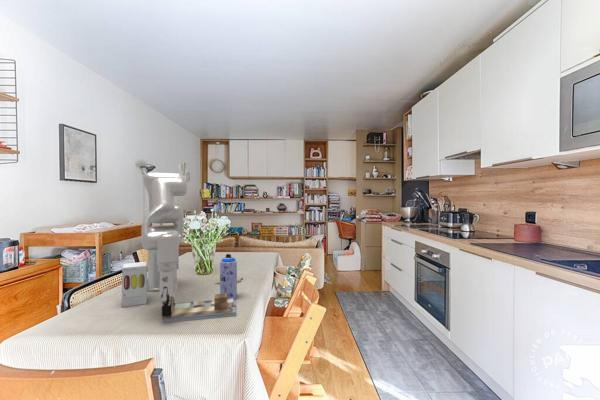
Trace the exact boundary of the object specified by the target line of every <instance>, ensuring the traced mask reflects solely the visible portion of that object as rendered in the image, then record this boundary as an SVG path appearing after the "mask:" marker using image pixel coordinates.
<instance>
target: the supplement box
mask: <svg viewBox="0 0 600 400" xmlns="http://www.w3.org/2000/svg"><path fill="white" fill-rule="evenodd" d="M121 272H122V274H121V275H122V278H121V279H122V280H121V308H127V307H133V306H139V305H140V306H141V305H147V301H148V291H147V279H148V261H142V262H141V261H140V262H139V261H138V262H128V263H127V262H125V263H123V265H122V270H121Z"/></svg>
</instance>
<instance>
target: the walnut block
mask: <svg viewBox="0 0 600 400" xmlns="http://www.w3.org/2000/svg"><path fill="white" fill-rule="evenodd" d="M213 300H214V310H226V309H227V293H224V294H220V293H215V294H214V297H213Z"/></svg>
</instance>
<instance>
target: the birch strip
mask: <svg viewBox="0 0 600 400" xmlns="http://www.w3.org/2000/svg"><path fill="white" fill-rule="evenodd" d="M167 297H169V295H167ZM167 300H168V301H169V298H168V299H167ZM174 303H175V296H174V297H171V304H170V305H171V316H162V319H164V318H170V317H179V316H190V315H201V314H213V313H224V312H231V303H229V305H227V309H226V310H214V306H210V307H198V308H186V309H174Z"/></svg>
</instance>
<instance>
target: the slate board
mask: <svg viewBox="0 0 600 400" xmlns="http://www.w3.org/2000/svg"><path fill="white" fill-rule="evenodd" d="M212 300H213V299H210V300H203V301H204V307H210V306H211V301H212ZM197 301H198V300H196V301H183V302H181V303H191V305H190V308H194V302H197ZM179 303H180V302H174V306H175V304H179ZM236 307H237V306H236V299H235V298H233V305H231V312H224V313H213V314H201V315H190V316H179V317H170V318H163V323H164V324H165V323H172V322H173V323H174V322H176V323H177V322H185V321H187V322H188V321H195V320H207V319H217V318H218V319H221V318H230V317H231V318H232V317H236V316H237V312H236V311H237V310H236V309H237V308H236Z"/></svg>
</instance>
